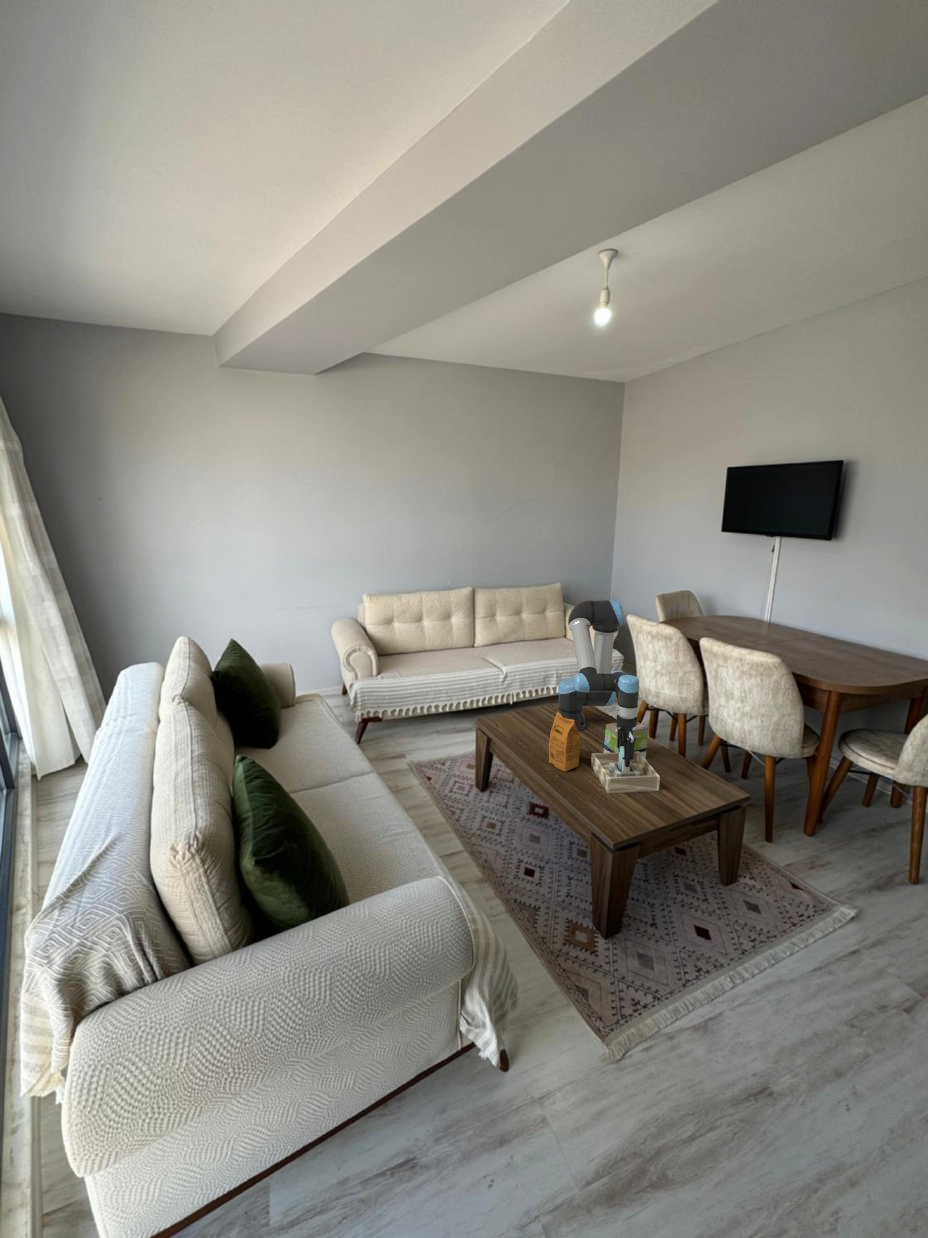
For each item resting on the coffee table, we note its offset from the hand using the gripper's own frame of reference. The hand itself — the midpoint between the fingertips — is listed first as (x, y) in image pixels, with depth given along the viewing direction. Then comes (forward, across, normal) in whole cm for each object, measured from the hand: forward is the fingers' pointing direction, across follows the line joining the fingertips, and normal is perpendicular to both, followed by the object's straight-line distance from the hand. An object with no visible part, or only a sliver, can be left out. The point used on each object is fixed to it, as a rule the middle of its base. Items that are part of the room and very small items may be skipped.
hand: (623, 770), depth 200 cm
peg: (+2, 0, 0) cm, 2 cm away
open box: (+3, 0, 0) cm, 3 cm away
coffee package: (+4, -13, -21) cm, 25 cm away
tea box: (+4, -17, +7) cm, 19 cm away
